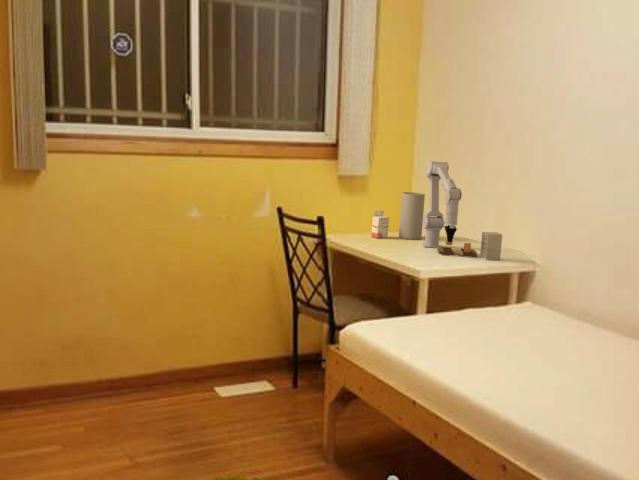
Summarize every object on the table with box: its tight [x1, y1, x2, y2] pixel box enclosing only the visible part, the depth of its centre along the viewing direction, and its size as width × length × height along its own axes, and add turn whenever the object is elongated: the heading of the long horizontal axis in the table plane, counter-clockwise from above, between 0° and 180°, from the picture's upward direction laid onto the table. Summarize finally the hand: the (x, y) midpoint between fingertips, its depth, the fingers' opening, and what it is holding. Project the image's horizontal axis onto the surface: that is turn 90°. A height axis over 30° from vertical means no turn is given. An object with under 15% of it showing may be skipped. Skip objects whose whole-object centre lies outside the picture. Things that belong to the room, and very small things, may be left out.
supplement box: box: [479, 231, 503, 260], centre depth 325 cm, size 7×7×13 cm
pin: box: [463, 242, 472, 253], centre depth 330 cm, size 3×3×6 cm
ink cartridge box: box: [370, 210, 390, 239], centre depth 372 cm, size 9×5×15 cm, turn 133°
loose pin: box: [445, 231, 454, 246], centre depth 330 cm, size 3×3×6 cm
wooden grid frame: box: [436, 246, 478, 258], centre depth 333 cm, size 12×18×2 cm, turn 85°
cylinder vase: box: [398, 191, 426, 241], centre depth 376 cm, size 12×12×25 cm
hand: (449, 241), depth 330 cm, fingers closed on loose pin, 3 cm apart
